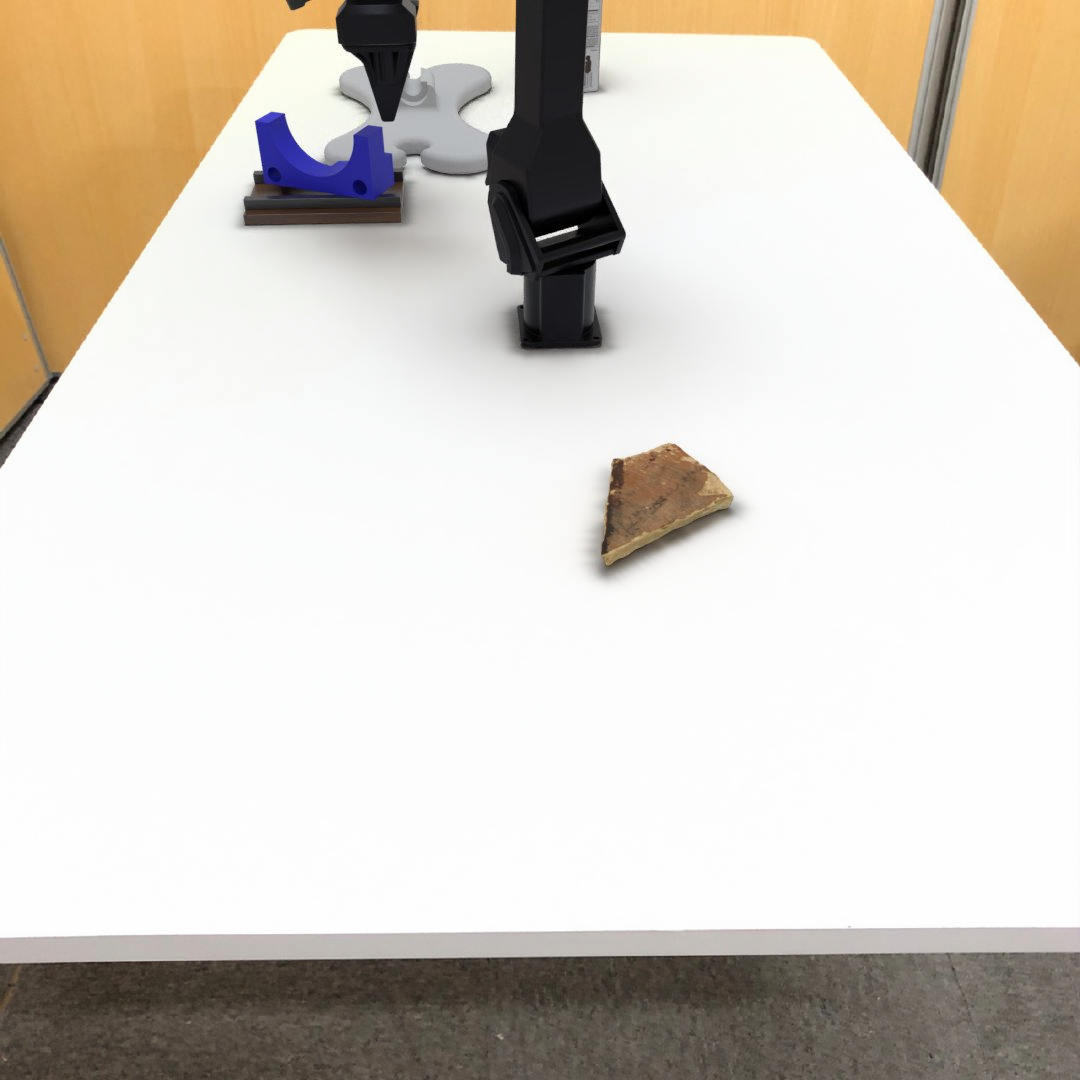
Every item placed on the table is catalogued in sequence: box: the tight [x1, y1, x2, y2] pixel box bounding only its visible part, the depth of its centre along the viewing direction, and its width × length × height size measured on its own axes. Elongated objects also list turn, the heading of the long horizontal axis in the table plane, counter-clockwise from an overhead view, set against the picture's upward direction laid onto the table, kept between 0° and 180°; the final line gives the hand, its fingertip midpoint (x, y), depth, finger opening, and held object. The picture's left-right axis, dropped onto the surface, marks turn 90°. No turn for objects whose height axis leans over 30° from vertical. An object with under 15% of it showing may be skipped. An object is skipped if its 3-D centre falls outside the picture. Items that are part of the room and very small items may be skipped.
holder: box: [323, 62, 492, 175], centre depth 123 cm, size 19×34×5 cm, turn 5°
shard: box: [600, 442, 735, 566], centre depth 68 cm, size 11×8×2 cm
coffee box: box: [584, 0, 604, 93], centre depth 131 cm, size 9×6×16 cm
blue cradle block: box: [254, 111, 394, 200], centre depth 103 cm, size 12×4×6 cm, turn 70°
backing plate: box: [242, 167, 406, 226], centre depth 105 cm, size 10×15×2 cm, turn 94°
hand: (390, 104), depth 95 cm, fingers open, 9 cm apart
